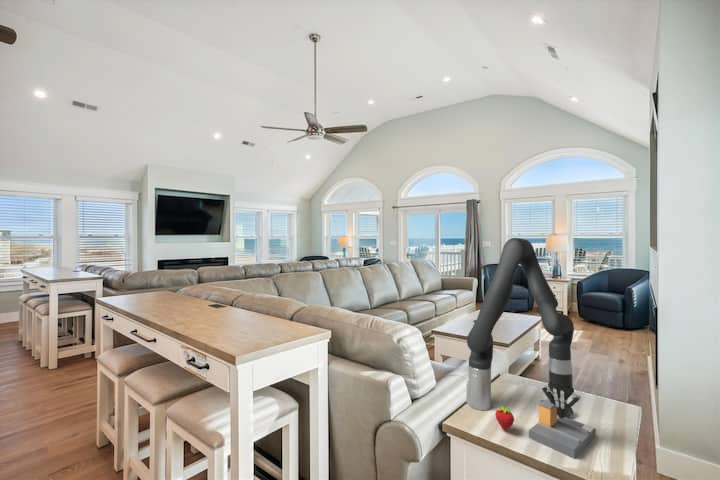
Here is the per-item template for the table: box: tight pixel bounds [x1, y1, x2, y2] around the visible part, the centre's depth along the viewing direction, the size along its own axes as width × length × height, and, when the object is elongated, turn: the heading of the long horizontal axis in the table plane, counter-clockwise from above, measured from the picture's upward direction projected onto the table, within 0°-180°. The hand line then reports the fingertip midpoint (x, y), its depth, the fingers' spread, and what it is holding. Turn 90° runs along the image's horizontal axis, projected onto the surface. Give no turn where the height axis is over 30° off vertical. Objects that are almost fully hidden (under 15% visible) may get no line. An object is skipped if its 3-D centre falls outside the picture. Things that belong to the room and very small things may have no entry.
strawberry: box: [495, 404, 515, 432], centre depth 133 cm, size 6×8×10 cm
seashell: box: [539, 399, 574, 418], centre depth 145 cm, size 6×9×10 cm
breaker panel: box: [528, 415, 597, 459], centre depth 128 cm, size 15×20×4 cm
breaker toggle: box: [538, 398, 557, 427], centre depth 132 cm, size 4×6×7 cm
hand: (561, 417), depth 129 cm, fingers closed
